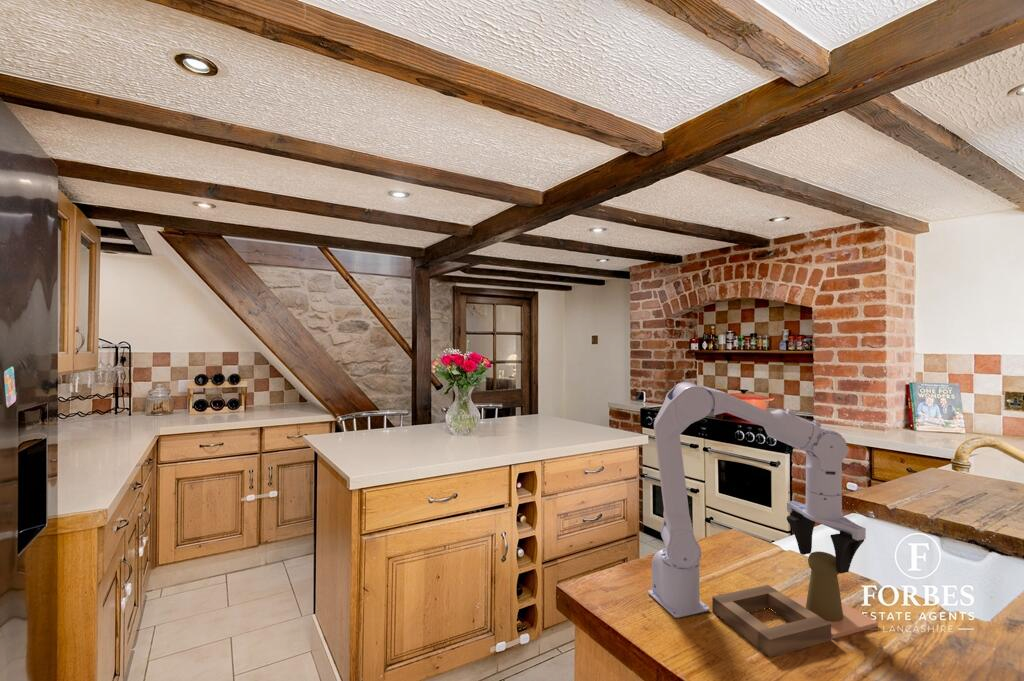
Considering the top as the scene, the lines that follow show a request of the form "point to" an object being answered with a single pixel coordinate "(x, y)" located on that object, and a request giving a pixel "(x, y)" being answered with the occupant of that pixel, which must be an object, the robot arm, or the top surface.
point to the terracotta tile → (845, 620)
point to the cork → (824, 587)
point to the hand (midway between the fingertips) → (823, 562)
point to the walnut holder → (774, 640)
